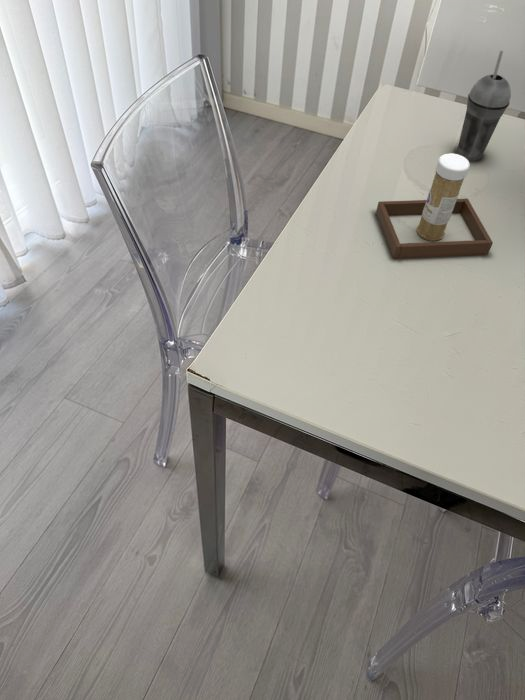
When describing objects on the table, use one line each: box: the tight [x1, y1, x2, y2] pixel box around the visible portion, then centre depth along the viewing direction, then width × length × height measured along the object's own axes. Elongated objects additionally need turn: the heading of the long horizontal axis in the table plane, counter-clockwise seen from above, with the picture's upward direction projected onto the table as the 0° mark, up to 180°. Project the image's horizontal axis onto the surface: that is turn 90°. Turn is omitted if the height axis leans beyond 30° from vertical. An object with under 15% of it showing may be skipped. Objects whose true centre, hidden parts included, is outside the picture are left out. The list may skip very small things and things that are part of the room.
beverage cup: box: [456, 50, 512, 162], centre depth 102 cm, size 7×7×20 cm
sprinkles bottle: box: [416, 152, 471, 242], centre depth 88 cm, size 5×5×13 cm
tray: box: [375, 198, 494, 260], centre depth 93 cm, size 16×12×3 cm
